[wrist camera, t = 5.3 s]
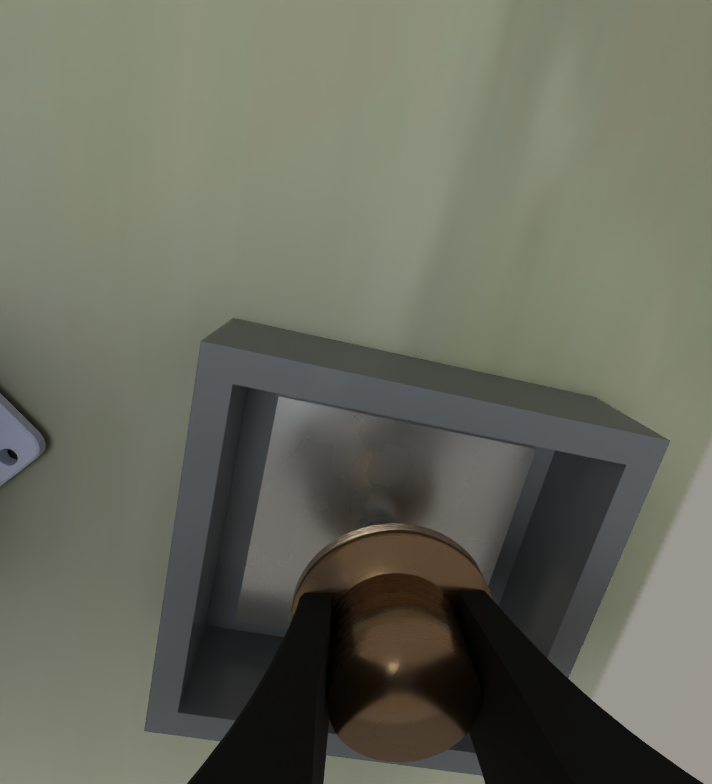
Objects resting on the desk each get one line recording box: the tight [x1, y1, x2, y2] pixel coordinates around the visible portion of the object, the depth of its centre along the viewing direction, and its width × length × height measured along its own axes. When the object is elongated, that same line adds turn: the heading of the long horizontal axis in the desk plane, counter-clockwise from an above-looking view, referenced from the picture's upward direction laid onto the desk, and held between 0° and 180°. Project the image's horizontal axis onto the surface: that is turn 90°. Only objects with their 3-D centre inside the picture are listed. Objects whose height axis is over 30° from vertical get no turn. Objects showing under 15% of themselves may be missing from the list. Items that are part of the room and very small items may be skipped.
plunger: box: [235, 394, 536, 762], centre depth 13 cm, size 8×8×6 cm
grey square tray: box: [144, 318, 670, 776], centre depth 14 cm, size 11×11×4 cm
